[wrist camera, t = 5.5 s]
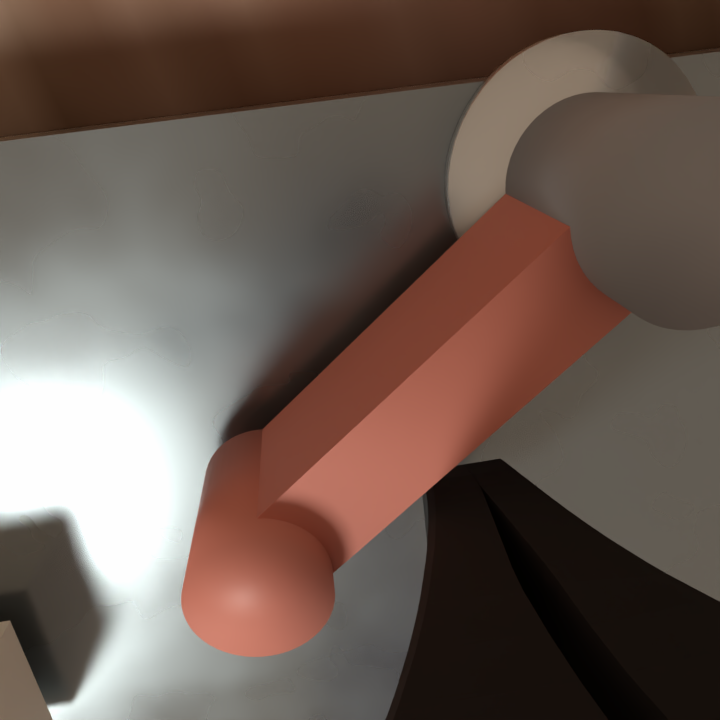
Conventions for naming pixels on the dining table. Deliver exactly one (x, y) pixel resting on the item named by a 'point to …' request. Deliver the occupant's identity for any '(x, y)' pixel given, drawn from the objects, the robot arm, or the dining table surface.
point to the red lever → (461, 356)
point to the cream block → (18, 681)
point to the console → (291, 370)
